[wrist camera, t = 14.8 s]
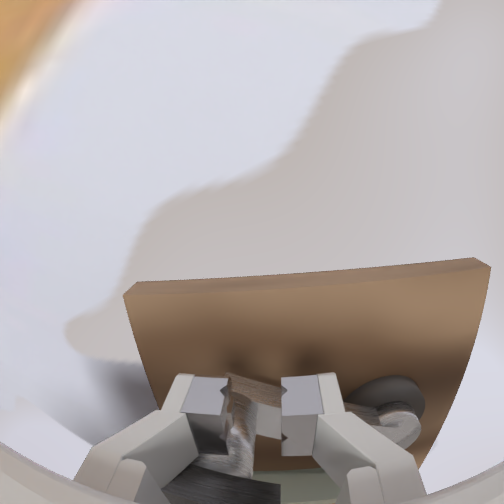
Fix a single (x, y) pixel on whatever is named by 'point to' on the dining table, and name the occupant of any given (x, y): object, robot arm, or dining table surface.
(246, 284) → the mechanism board
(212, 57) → the dining table surface
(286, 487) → the tray
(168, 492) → the crank
